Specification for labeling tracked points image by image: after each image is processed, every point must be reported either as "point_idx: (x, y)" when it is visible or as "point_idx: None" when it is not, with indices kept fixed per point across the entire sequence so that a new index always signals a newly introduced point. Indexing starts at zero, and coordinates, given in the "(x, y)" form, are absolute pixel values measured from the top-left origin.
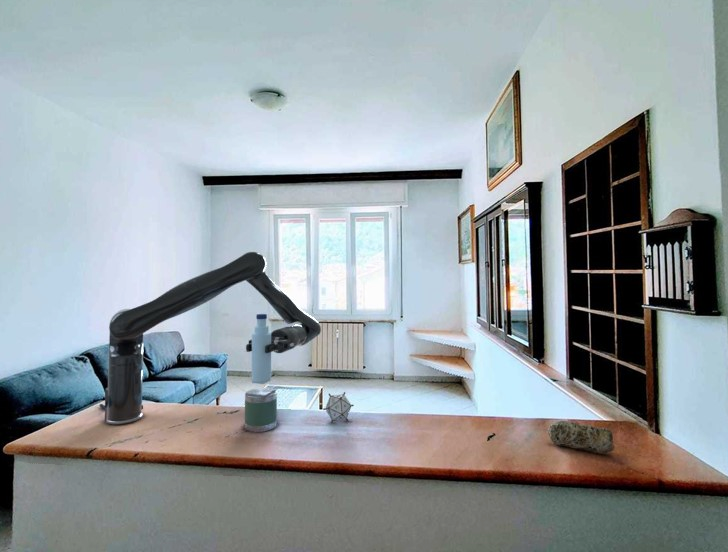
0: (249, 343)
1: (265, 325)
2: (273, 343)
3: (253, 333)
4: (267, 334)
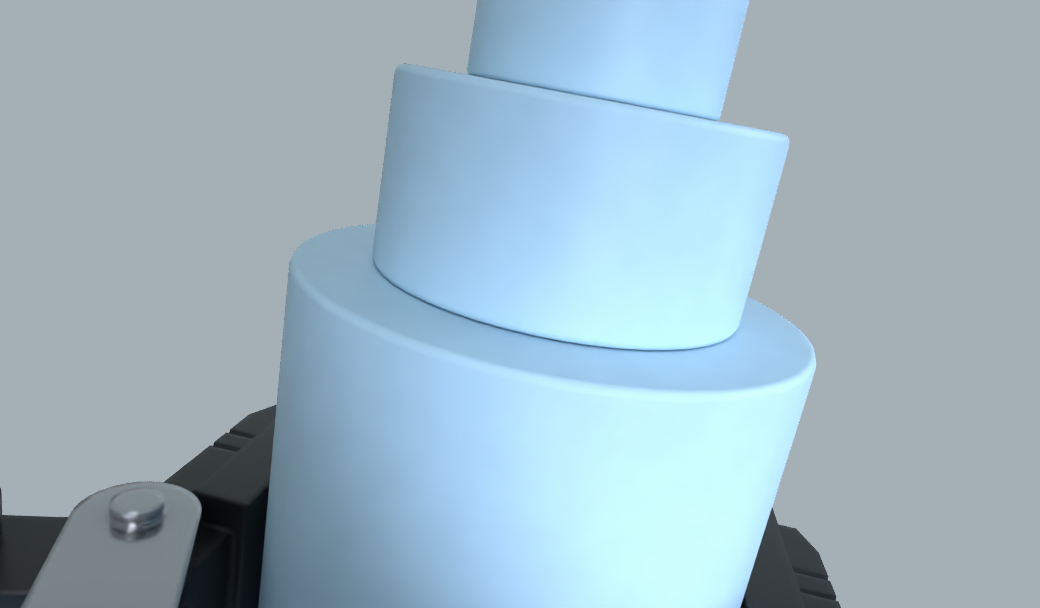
0: (776, 530)
1: (475, 32)
2: (199, 514)
3: (766, 317)
4: (366, 226)
